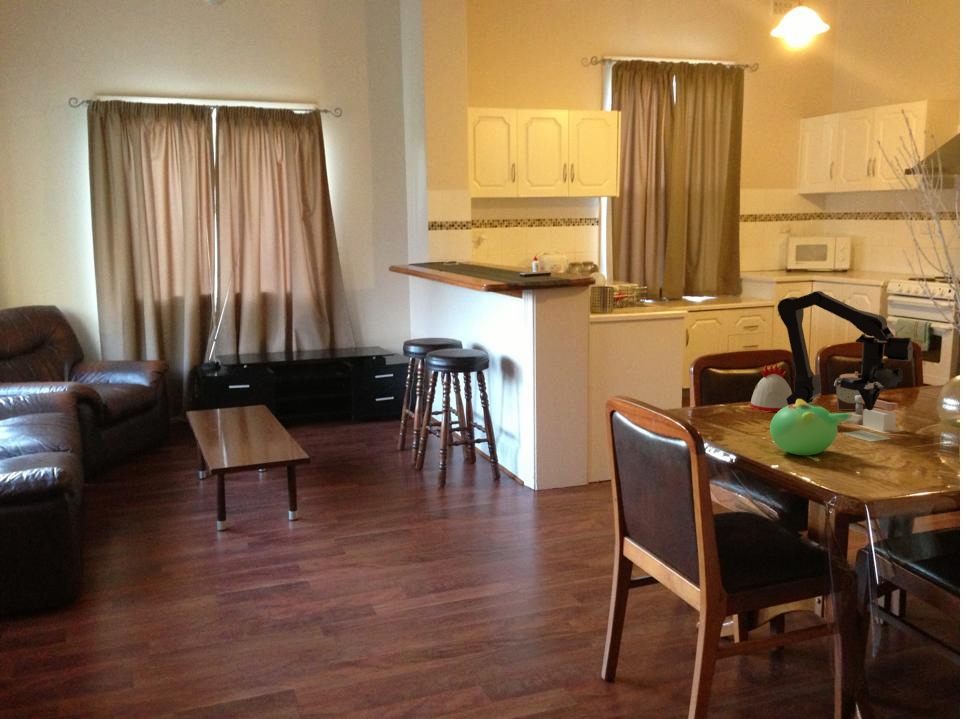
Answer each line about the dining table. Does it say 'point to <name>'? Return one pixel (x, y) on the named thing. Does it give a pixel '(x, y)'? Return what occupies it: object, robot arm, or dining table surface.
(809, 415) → the toy bird
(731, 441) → the dining table surface
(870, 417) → the block
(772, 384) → the kitchen timer
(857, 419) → the housing
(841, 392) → the food container
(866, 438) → the mat
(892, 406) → the latch bar
